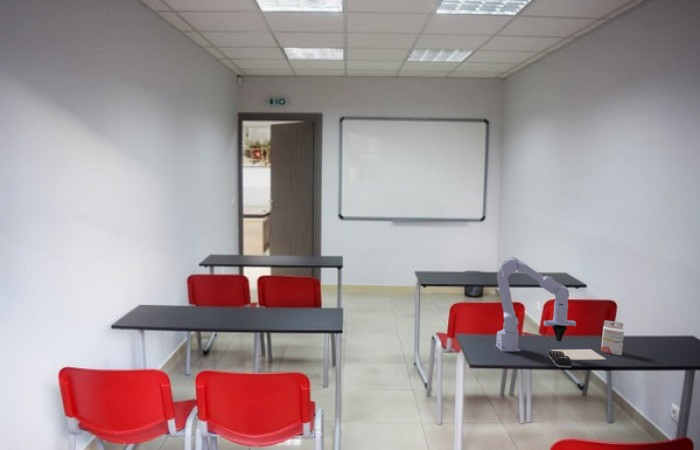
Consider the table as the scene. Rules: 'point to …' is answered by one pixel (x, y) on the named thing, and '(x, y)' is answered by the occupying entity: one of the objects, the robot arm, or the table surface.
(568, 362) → the battery charger
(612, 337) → the ink cartridge box
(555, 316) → the robot arm
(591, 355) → the mat
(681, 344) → the table surface
